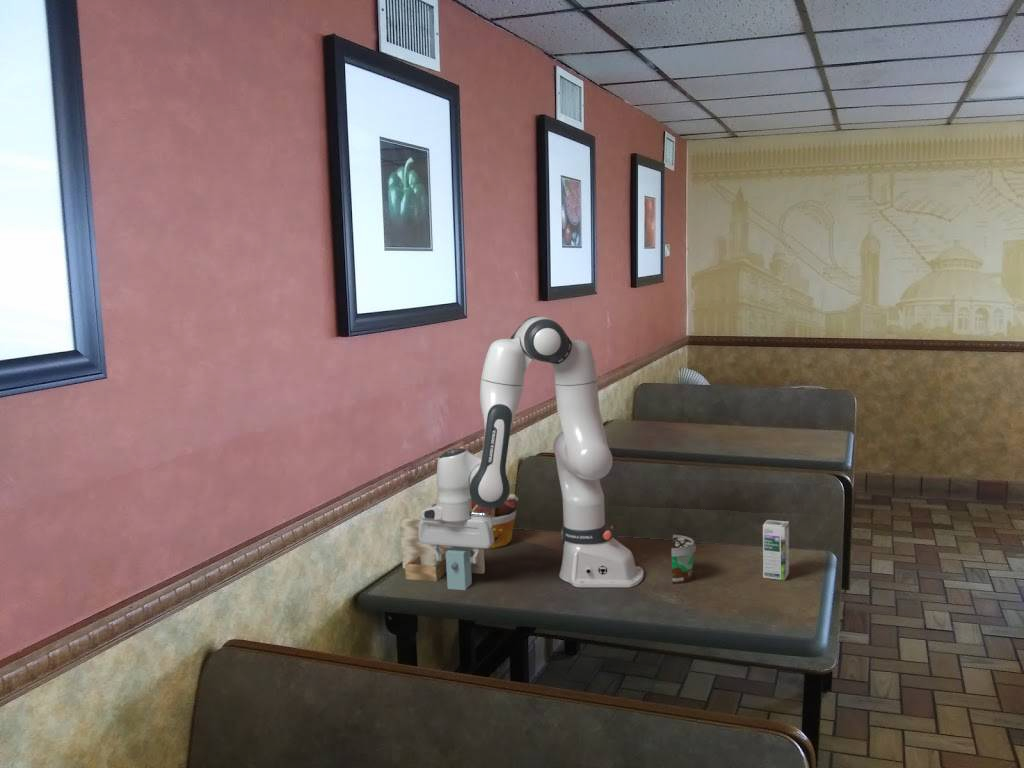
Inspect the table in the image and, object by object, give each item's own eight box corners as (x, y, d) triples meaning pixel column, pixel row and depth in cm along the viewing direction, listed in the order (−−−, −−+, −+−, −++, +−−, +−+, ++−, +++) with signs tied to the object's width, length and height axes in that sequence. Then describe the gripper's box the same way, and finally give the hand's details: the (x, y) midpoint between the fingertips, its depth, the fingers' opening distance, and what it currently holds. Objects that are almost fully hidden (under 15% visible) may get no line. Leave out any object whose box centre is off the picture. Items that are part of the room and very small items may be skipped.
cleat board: (484, 571, 258) (482, 522, 256) (473, 584, 249) (470, 533, 247) (405, 566, 265) (402, 518, 263) (390, 578, 256) (387, 528, 254)
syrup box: (762, 578, 244) (762, 524, 242) (767, 571, 249) (767, 518, 247) (784, 581, 241) (784, 526, 239) (789, 573, 246) (789, 520, 244)
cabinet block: (471, 583, 249) (470, 547, 248) (464, 591, 244) (462, 554, 243) (454, 582, 251) (452, 546, 250) (446, 589, 245) (444, 553, 244)
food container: (696, 586, 240) (695, 549, 238) (672, 586, 241) (671, 548, 240) (696, 570, 252) (696, 534, 250) (673, 569, 253) (672, 534, 252)
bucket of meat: (531, 538, 286) (528, 475, 283) (506, 555, 271) (503, 488, 268) (474, 532, 295) (471, 470, 292) (447, 547, 280) (443, 483, 277)
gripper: (496, 509, 245) (497, 560, 247) (424, 505, 251) (426, 555, 253) (488, 516, 239) (490, 568, 241) (414, 511, 245) (417, 562, 247)
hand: (456, 561), depth 247 cm, fingers open, 8 cm apart
